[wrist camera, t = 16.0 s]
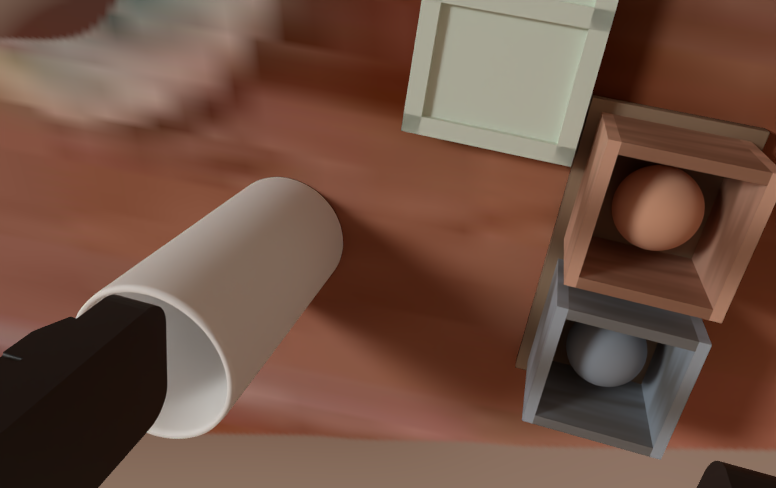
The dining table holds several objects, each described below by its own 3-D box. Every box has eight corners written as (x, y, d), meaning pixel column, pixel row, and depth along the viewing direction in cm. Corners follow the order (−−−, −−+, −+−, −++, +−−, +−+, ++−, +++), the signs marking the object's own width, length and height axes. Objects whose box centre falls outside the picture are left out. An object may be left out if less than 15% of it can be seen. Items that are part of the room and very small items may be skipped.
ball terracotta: (622, 147, 35) (630, 170, 31) (708, 164, 34) (727, 191, 30) (599, 221, 37) (603, 252, 33) (679, 240, 36) (693, 274, 32)
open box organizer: (592, 94, 35) (597, 122, 29) (765, 128, 33) (809, 165, 27) (516, 360, 43) (508, 426, 37) (653, 397, 41) (668, 471, 35)
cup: (358, 206, 41) (249, 335, 27) (324, 306, 45) (212, 465, 31) (244, 157, 42) (79, 258, 28) (220, 260, 45) (63, 395, 31)
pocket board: (459, -175, 31) (451, -185, 29) (656, -149, 30) (663, -158, 28) (410, 120, 38) (401, 130, 36) (570, 154, 36) (571, 167, 34)
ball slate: (577, 287, 39) (577, 324, 35) (653, 307, 38) (663, 346, 34) (558, 348, 41) (556, 389, 37) (630, 367, 40) (636, 412, 36)
